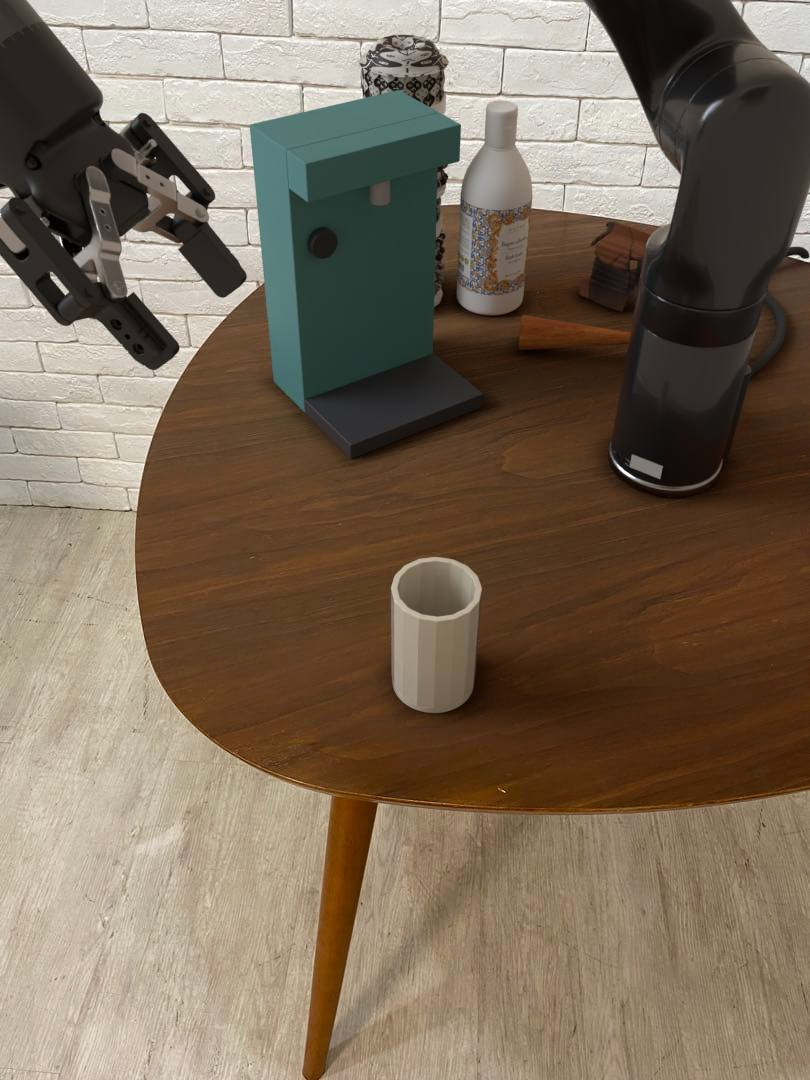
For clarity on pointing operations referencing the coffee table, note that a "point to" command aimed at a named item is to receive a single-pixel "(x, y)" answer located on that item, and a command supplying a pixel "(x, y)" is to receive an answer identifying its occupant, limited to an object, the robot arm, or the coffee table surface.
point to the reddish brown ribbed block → (615, 266)
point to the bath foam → (494, 219)
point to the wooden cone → (565, 334)
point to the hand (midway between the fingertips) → (203, 322)
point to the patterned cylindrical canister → (422, 78)
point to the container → (434, 633)
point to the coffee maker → (357, 266)
